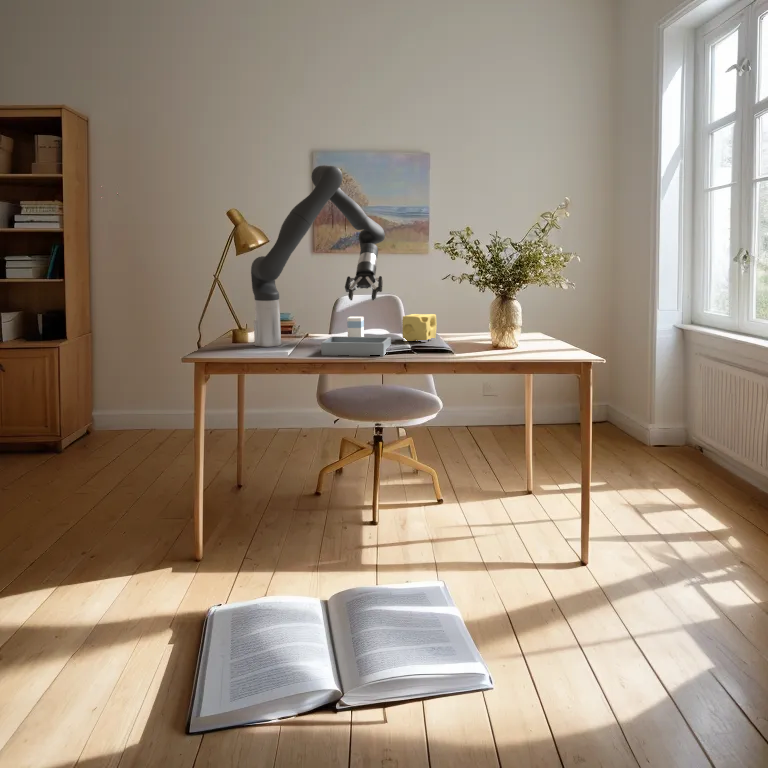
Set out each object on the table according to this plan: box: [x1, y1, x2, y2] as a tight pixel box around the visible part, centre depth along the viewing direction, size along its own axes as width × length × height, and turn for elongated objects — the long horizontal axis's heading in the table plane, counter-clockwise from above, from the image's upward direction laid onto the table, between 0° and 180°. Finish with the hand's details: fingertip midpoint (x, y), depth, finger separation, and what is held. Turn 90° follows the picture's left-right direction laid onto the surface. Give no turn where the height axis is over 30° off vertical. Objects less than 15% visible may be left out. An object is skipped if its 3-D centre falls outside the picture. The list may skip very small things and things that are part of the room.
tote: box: [320, 336, 392, 357], centre depth 290 cm, size 22×15×4 cm
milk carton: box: [346, 316, 365, 337], centre depth 303 cm, size 5×5×11 cm
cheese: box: [401, 313, 438, 342], centre depth 317 cm, size 10×11×10 cm
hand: (361, 299), depth 312 cm, fingers open, 8 cm apart
